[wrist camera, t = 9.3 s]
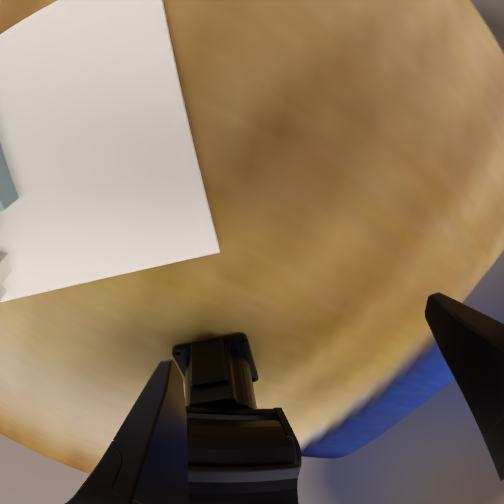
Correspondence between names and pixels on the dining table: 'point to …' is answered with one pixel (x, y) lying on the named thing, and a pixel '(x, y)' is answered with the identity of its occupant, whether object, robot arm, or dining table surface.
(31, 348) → the dining table surface
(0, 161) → the holder
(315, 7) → the dining table surface
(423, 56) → the dining table surface
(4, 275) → the clips
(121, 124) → the board
